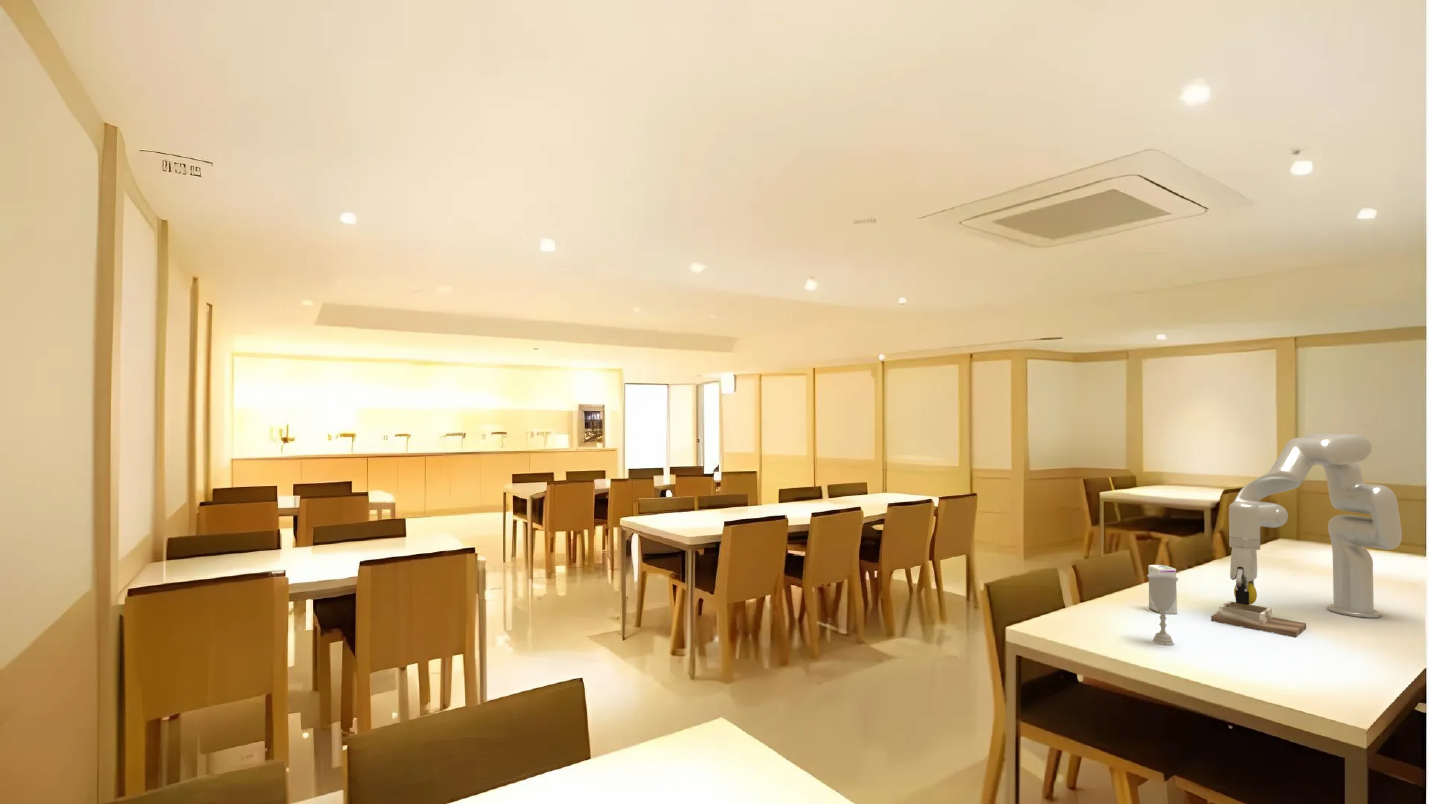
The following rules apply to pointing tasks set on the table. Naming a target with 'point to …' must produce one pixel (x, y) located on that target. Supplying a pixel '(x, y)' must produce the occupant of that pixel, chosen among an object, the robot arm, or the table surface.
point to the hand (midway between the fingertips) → (1245, 601)
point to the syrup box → (1163, 571)
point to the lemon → (1251, 593)
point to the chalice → (1162, 601)
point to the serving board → (1256, 619)
